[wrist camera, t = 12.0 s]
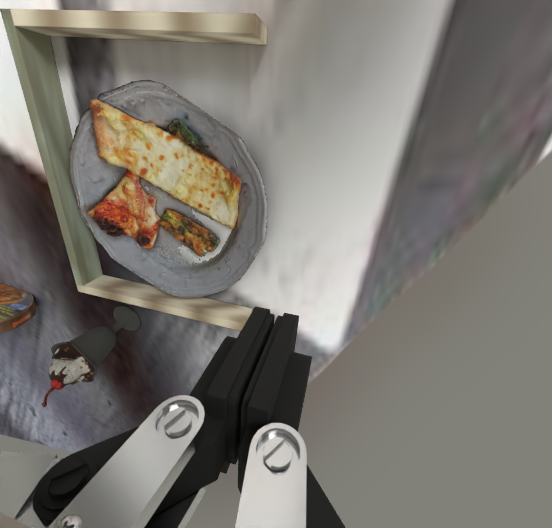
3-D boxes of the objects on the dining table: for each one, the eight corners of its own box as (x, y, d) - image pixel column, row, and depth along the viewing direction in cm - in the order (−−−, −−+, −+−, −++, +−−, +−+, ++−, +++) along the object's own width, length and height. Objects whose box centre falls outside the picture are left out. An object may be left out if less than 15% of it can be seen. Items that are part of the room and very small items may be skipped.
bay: (267, 27, 25) (255, 13, 22) (251, 315, 39) (243, 331, 36) (36, 21, 30) (-1, 8, 26) (97, 280, 44) (78, 291, 41)
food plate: (69, 219, 40) (45, 227, 37) (104, 38, 29) (75, 27, 26) (219, 314, 41) (208, 329, 38) (307, 176, 30) (303, 182, 27)
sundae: (130, 340, 48) (45, 420, 35) (102, 310, 46) (2, 382, 33) (153, 326, 45) (70, 407, 32) (124, 294, 44) (24, 365, 30)
